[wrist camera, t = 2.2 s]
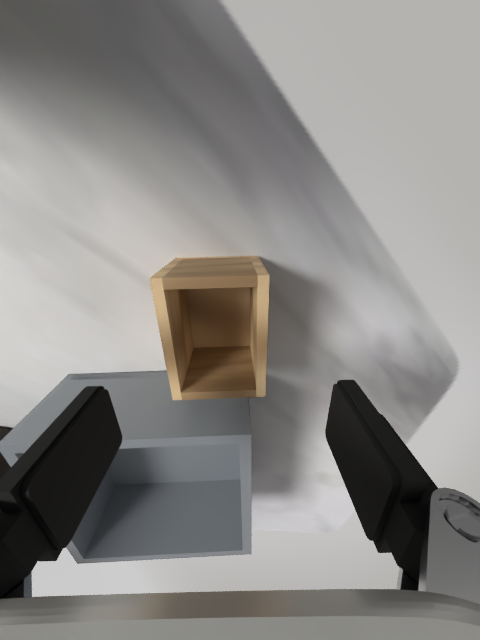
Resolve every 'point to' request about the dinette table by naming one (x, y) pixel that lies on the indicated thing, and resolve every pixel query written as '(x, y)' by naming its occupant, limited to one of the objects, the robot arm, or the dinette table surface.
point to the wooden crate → (213, 326)
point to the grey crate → (158, 471)
